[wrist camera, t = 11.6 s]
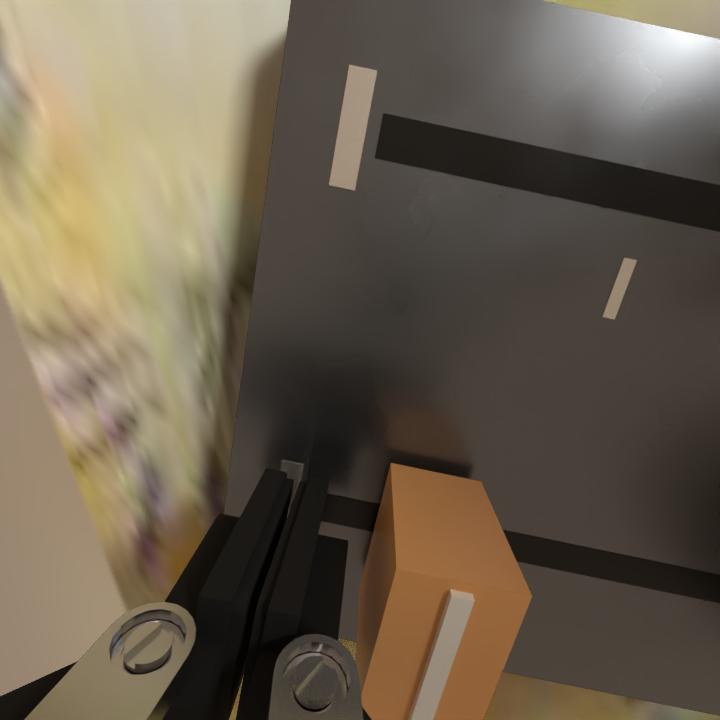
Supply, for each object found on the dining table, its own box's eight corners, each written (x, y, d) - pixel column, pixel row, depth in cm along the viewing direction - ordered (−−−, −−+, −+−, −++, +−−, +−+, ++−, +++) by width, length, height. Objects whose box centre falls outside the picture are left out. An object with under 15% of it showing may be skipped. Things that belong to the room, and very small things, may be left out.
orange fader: (481, 481, 10) (535, 603, 7) (441, 602, 11) (470, 763, 8) (390, 462, 10) (396, 575, 7) (359, 585, 11) (351, 739, 8)
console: (976, 150, 10) (1122, 125, 8) (694, 658, 14) (742, 721, 13) (313, 7, 10) (298, -54, 8) (233, 563, 14) (210, 612, 12)
